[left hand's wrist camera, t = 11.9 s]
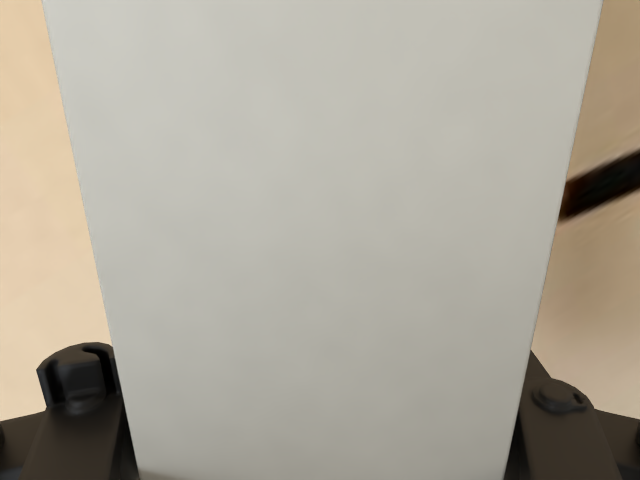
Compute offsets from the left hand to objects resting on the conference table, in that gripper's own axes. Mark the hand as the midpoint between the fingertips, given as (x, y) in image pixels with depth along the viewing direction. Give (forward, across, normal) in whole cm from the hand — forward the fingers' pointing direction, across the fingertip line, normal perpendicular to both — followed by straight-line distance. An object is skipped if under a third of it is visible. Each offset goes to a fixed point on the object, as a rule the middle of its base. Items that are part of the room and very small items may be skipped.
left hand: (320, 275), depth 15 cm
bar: (+1, 0, -9) cm, 9 cm away
